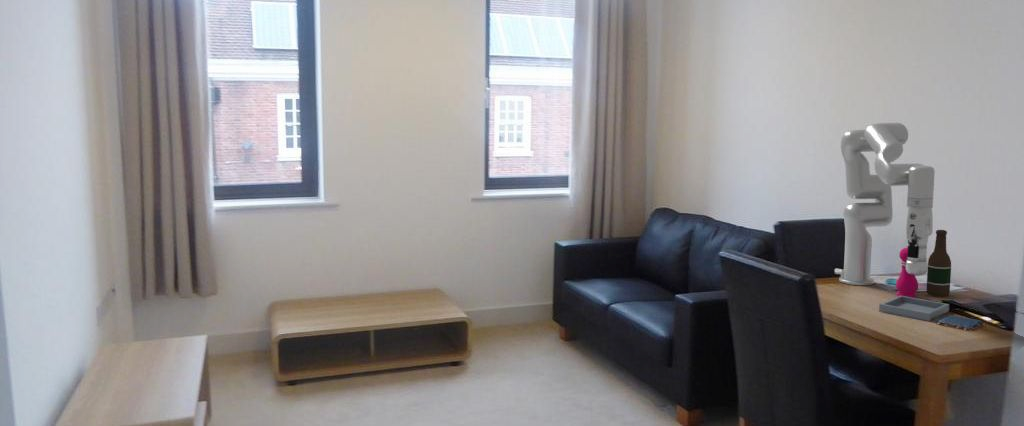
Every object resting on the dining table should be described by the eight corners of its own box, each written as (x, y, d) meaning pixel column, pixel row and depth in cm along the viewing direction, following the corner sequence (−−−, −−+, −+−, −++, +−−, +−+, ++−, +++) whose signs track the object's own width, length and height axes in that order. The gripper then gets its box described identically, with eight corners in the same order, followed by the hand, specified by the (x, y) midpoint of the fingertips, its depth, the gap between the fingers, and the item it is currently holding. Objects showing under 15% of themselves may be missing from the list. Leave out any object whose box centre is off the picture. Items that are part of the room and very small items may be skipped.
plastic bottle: (900, 273, 248) (903, 215, 245) (914, 271, 251) (917, 213, 248) (917, 277, 242) (920, 218, 239) (931, 275, 245) (934, 216, 242)
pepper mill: (920, 300, 261) (923, 245, 258) (898, 299, 263) (901, 245, 260) (913, 295, 268) (916, 241, 265) (892, 294, 270) (895, 241, 267)
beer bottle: (945, 298, 263) (949, 233, 259) (922, 294, 269) (925, 230, 265) (953, 294, 268) (957, 230, 264) (930, 290, 274) (933, 227, 270)
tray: (879, 311, 250) (879, 304, 249) (899, 302, 260) (899, 295, 259) (929, 321, 237) (929, 313, 237) (948, 311, 247) (949, 304, 247)
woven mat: (971, 333, 226) (971, 327, 226) (934, 325, 234) (935, 319, 234) (984, 326, 232) (985, 320, 232) (948, 319, 241) (949, 313, 240)
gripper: (921, 206, 235) (917, 261, 237) (942, 201, 245) (939, 254, 248) (896, 204, 241) (894, 258, 243) (918, 199, 251) (916, 251, 254)
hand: (917, 255), depth 246 cm, fingers closed on plastic bottle, 5 cm apart
